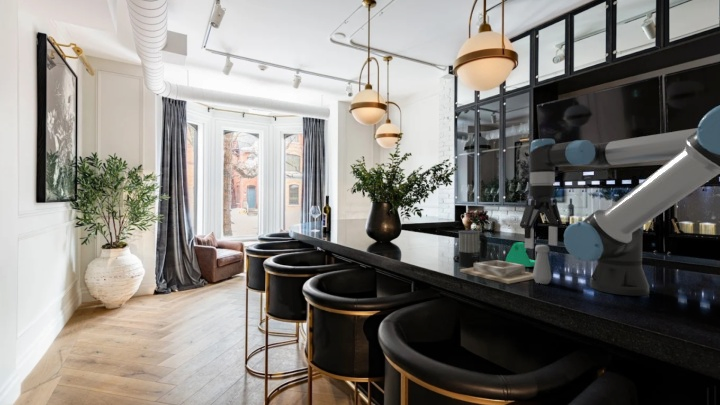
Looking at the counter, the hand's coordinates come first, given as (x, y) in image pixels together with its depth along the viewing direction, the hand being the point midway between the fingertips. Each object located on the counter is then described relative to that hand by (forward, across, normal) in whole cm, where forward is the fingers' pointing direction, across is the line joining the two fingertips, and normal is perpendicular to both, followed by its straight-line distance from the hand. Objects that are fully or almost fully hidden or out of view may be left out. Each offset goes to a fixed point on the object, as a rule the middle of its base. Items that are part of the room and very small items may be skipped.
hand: (541, 246), depth 122 cm
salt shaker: (+13, 0, 0) cm, 13 cm away
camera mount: (+13, -21, -22) cm, 33 cm away
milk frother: (+13, -4, -38) cm, 40 cm away
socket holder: (+12, +2, -16) cm, 20 cm away
